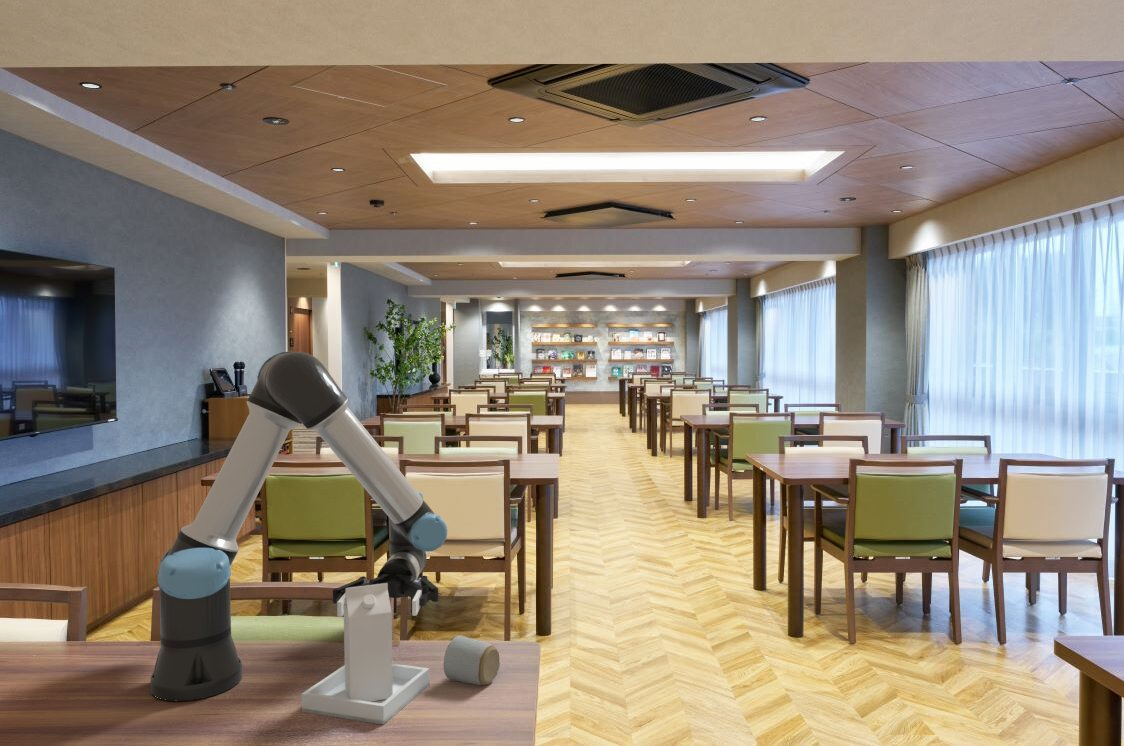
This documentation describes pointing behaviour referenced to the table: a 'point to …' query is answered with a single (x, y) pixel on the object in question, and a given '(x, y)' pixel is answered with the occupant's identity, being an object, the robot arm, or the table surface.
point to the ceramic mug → (471, 661)
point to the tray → (334, 701)
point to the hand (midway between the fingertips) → (376, 609)
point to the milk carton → (368, 643)
